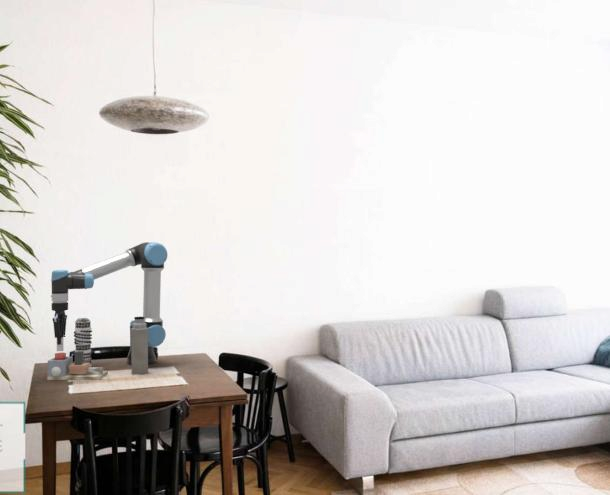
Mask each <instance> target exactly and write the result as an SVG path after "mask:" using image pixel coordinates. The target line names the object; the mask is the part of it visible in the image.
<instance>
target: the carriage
mask: <svg viewBox="0 0 610 495" xmlns="http://www.w3.org/2000/svg"><path fill="white" fill-rule="evenodd" d="M74 360H75V361H74V362H73V363H72V364H70V365H69V366H68V369H69V374H86V373H87V367H89V366H90V363H84V358H83V351H77V352H75V351H74ZM90 367H91V366H90Z"/></svg>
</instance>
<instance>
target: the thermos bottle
mask: <svg viewBox="0 0 610 495" xmlns="http://www.w3.org/2000/svg"><path fill="white" fill-rule="evenodd" d="M144 318H145V317H143V316H134V318H133V319H134V323H133V328H131V364H130V365H131V374H132V375H134V374H142V375H147V374H148V373H149V364H148V328H147V327H146V323H145V320H144ZM146 373H147V374H146Z"/></svg>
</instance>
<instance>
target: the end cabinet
mask: <svg viewBox="0 0 610 495" xmlns="http://www.w3.org/2000/svg"><path fill="white" fill-rule="evenodd" d="M73 360H74V359H73V356H66V359H65V360H55V357H53V358H51V359H49V360H47V377H65V376H67V375H68V374H69V369H68V366H69V365H70V364H72V363H74V362H73Z"/></svg>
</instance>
